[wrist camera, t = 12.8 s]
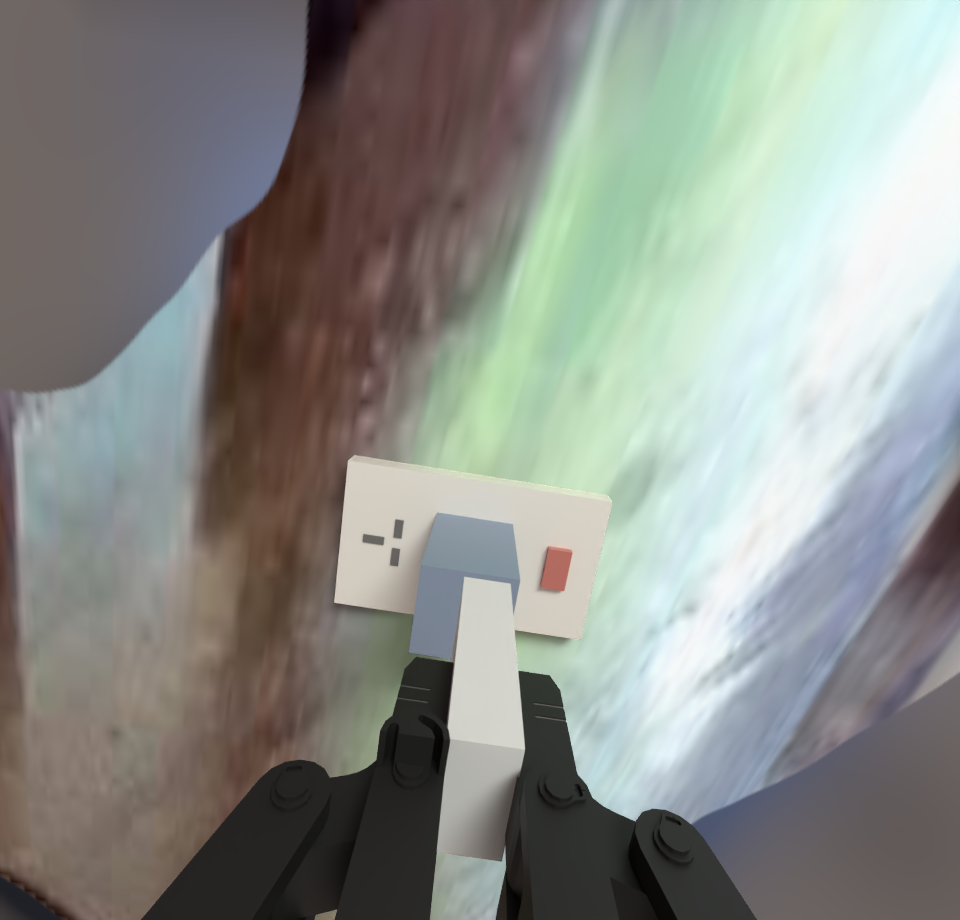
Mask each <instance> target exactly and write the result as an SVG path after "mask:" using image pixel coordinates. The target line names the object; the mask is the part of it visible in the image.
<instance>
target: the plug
mask: <svg viewBox="0 0 960 920" xmlns="http://www.w3.org/2000/svg"><path fill="white" fill-rule="evenodd" d="M464 577H469V578H476V579H483V580H490V581H496V582H503V583H510V584H511V593H512V605H513V616H514V610H515V605H516V600H517V595H518V590H519V585H520V574H519V566H518V559H517V551H516V544H515V536H514V529H513V524H509V523H502V522H496V521H490V520H483V519H477V518H470V517H464V516H457V515H451V514H445V513H438V512H437V515H436V518H435V522H434V525H433V528H432V531H431V534H430V538H429V541H428V544H427V547H426V550H425V554H424V557H423V560H422V563H421V568H420V575H419V582H418V589H417V597H416V604H415V611H414V618H413V625H412V632H411V639H410V647H409V653H414V654H421V655H428V656H434V657H441V658H448V659H452V652H453V645H454V639H455V633H456V626H457V620H458V614H459V608H460V601H461V595H462V589H463V582H464Z"/></svg>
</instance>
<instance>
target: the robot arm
mask: <svg viewBox="0 0 960 920" xmlns="http://www.w3.org/2000/svg"><path fill="white" fill-rule="evenodd" d="M504 848H506V871H505V876H504V881H503V885H502V890H501V895H500V899H499V904H498V909H497V915H496V920H757V919H756V918H755V916H754V915H753V913H752V912H751V910H750V908H749V907H748V905H747V904H746V903H745V901H744V899H743V898H742V896H741V895H740V893H739V892H738V890H737V889H736V887H735V885H734V884H733V883H732V881H731V879H730V878H729V876H728V875H727V873H726V872H725V870H724V869H723V867H722V866H721V864H720V863H719V861H718V859H717V858H716V856H715V855H714V853H713V852H712V850H711V849H710V847H709V846H708V844H707V843H706V841H705V840H704V838H703V837H702V836H701V835H700V834H699V832H698V831H697V830H696V829H695V828H694V827H693V826H692V825H691V824H690V823H688V822H687V821H686V820H684V819H683V818H682V817H680V816H678V815H676V814H674V813H671V812H669V811H667V810H660V809H650V810H648V811H645V812H642V813H641V815H640V816H639V817H638V819H637V820H636V822H635V821H633V820H630V819H628V818H626V817H624V816H622V815H619V814H617V813H615V812H613V811H611V810H609V809H607V808H605V807H604V806H602V805H601V804H599V803H598V802H597V801H596V800H594V799H593V798H592V796H591V794H590V792H589V789H588V787H587V785H586V784H585V783H584V782H583V780H582V779H581V778H580V777H579V776H578V774H577V771H576V766H575V761H574V756H573V751H572V746H571V742H570V737H569V732H568V727H567V723H566V717H565V712H564V709H563V702H562V697H561V692H560V689H559V688H558V687H557V685H556V684H555V682H554V681H553V680H552V678H551V677H550V675H543V674H536V673H529V672H523V671H518V662H517V651H516V639H515V628H514V616H513V605H512V593H511V584H510V583H503V582H496V581H490V580H483V579H476V578H469V577H464V582H463V589H462V595H461V601H460V608H459V614H458V620H457V626H456V633H455V639H454V645H453V652H452V660H451V662H445V661H438V660H431V659H425V658H418V657H416V658H415V659H414V660H413V661H412V662H411V663H410V664H409V665H408V666H407V667H406V668H405V670H404V674H403V678H402V682H401V686H400V689H399V693H398V697H397V701H396V704H395V708H394V712H393V716H391V717H390V718H389V719H387V720H386V721H385V723H384V725H383V727H382V728H381V730H380V736H379V744H378V752H377V760H376V761H375V762H374V763H373V764H371V765H370V766H369V767H368V768H366V769H364V770H362V771H360V772H357V773H354V774H350V775H345V776H339V777H333V778H330V777H329V776H328V774H327V772H326V771H325V769H324V768H322V767H321V766H319V765H318V764H316V763H315V762H310V761H305V760H295V761H288V762H285V763H282V764H280V765H278V766H276V767H274V768H272V769H270V770H269V771H268V772H267V773H266V774H265V775H264V776H262V777H261V778H260V779H259V780H258V782H257V783H256V784H255V785H254V786H253V787H252V789H251V790H250V791H249V792H248V793H247V795H246V796H245V797H244V798H243V799H242V801H241V802H240V803H239V804H238V805H237V806H236V808H235V809H234V810H233V811H232V812H231V814H230V815H229V816H228V817H227V818H226V820H225V821H224V822H223V823H222V824H221V825H220V827H219V828H218V829H217V830H216V831H215V833H214V834H213V835H212V836H211V837H210V839H209V840H208V841H207V842H206V843H205V844H204V846H203V847H202V848H201V849H200V850H199V852H198V853H197V854H196V855H195V856H194V858H193V859H192V860H191V861H190V862H189V863H188V865H187V866H186V867H185V868H184V869H183V871H182V872H181V873H180V874H179V875H178V877H177V878H176V879H175V880H174V881H173V882H172V884H171V885H170V886H169V887H168V888H167V890H166V891H165V892H164V893H163V894H162V896H161V897H160V898H159V899H158V900H157V901H156V903H155V904H154V905H153V906H152V907H151V909H150V910H149V911H148V912H147V913H146V915H145V916H144V917H143V918H142V919H141V920H314V919H315V916H316V914H320V913H324V912H328V911H332V910H336V909H337V913H336V917H335V920H430V912H431V902H432V892H433V882H434V873H435V863H436V853H437V852H439V853H446V854H453V855H460V856H467V857H474V858H481V859H488V860H495V861H502V858H503V853H504Z"/></svg>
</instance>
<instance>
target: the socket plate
mask: <svg viewBox="0 0 960 920" xmlns="http://www.w3.org/2000/svg"><path fill="white" fill-rule="evenodd" d="M611 507H612V501H611V499H610V498H609V497H608V496H607V495H605V494H599V493H592V492H586V491H580V490H573V489H567V488H560V487H554V486H548V485H541V484H535V483H529V482H522V481H516V480H510V479H503V478H497V477H490V476H484V475H478V474H471V473H465V472H459V471H452V470H446V469H440V468H433V467H427V466H420V465H414V464H408V463H401V462H395V461H389V460H382V459H376V458H370V457H363V456H357V455H354V456H353V457H352V458H351V459H349V460H348V466H347V477H346V487H345V497H344V507H343V518H342V528H341V538H340V549H339V559H338V569H337V579H336V590H335V600H334V603H340V604H346V605H353V606H360V607H366V608H373V609H379V610H386V611H393V612H399V613H406V614H412V615H414V611H415V604H416V597H417V589H418V582H419V575H420V568H421V563H422V560H423V557H424V554H425V550H426V547H427V544H428V541H429V538H430V534H431V531H432V528H433V525H434V522H435V518H436V515H437V512H438V513H445V514H451V515H457V516H464V517H470V518H477V519H483V520H490V521H496V522H502V523H509V524H513V529H514V536H515V544H516V551H517V559H518V566H519V574H520V585H519V590H518V595H517V600H516V605H515V610H514V628H515V630H518V631H524V632H531V633H538V634H544V635H551V636H557V637H564V638H571V639H577V640H581V636H582V632H583V628H584V623H585V619H586V615H587V610H588V606H589V602H590V597H591V593H592V589H593V584H594V580H595V576H596V571H597V567H598V563H599V558H600V554H601V550H602V545H603V541H604V537H605V533H606V528H607V524H608V520H609V515H610V511H611Z"/></svg>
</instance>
